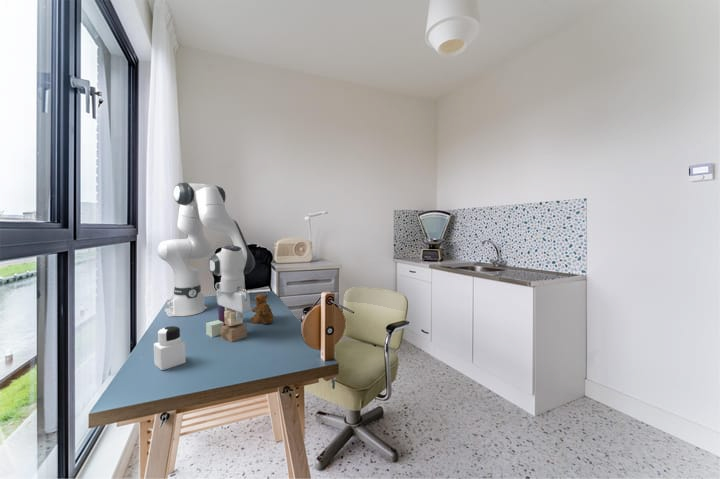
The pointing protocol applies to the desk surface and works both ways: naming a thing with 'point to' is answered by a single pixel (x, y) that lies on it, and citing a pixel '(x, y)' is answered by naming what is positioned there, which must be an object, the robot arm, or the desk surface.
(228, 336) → the walnut base
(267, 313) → the brown teddy bear
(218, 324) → the sage cube
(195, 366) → the desk surface
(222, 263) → the robot arm
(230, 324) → the oak cube
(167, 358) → the medicine bottle
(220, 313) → the cup
